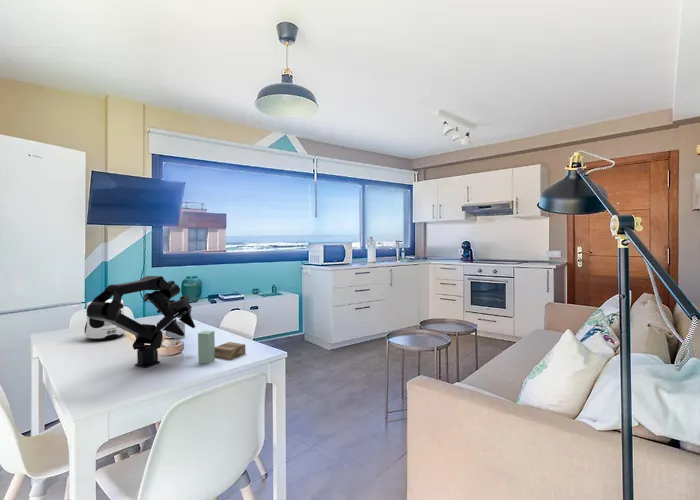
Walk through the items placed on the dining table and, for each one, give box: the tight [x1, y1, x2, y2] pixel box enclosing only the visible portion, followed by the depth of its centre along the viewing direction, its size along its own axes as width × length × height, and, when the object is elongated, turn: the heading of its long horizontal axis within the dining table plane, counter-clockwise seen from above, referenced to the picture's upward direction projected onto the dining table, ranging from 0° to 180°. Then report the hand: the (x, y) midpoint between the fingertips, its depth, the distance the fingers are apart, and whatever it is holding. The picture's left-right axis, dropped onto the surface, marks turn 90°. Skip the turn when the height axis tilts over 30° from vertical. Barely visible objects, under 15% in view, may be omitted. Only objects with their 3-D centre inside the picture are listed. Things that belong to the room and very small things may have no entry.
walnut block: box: [215, 341, 246, 361], centre depth 157 cm, size 9×9×4 cm
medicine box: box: [165, 319, 186, 340], centre depth 184 cm, size 8×4×9 cm, turn 84°
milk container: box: [84, 298, 126, 341], centre depth 185 cm, size 17×17×18 cm
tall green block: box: [197, 330, 216, 365], centre depth 149 cm, size 4×4×12 cm
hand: (189, 331), depth 153 cm, fingers open, 9 cm apart
